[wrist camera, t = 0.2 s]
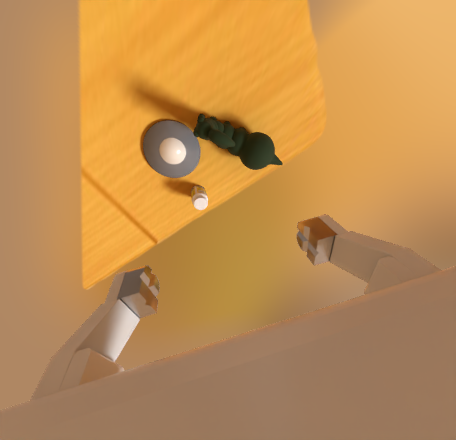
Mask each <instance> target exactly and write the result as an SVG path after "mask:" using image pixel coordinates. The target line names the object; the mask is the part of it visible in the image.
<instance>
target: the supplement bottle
mask: <svg viewBox="0 0 456 440" xmlns="http://www.w3.org/2000/svg"><path fill="white" fill-rule="evenodd" d="M191 198H192V203H193V204H194V206H195V208H196V209H198V210H203V209H205V208H206V207H207V205H208V197H207V194H206V191H205V189H204V187H202V186H200V185H197V186H194V187H193V188H192V189H191Z"/></svg>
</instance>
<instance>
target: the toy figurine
mask: <svg viewBox="0 0 456 440" xmlns="http://www.w3.org/2000/svg"><path fill="white" fill-rule="evenodd" d="M197 121H198V123H197V125H196V127H195V129H194V133H193V134H194V136H195V137H200V138H202V139H206V140H210V141H212V142H213V143H215V144H216V145H217V146H218V147H220V148H222V149H228V151H229V152H230V153H231V154H233V155H235V156H239V157H240V159H241V161H242V163H243V164H244V165H245V166H246V167H248V168H250V169H253V170H258V169H262V168H264V167H266V166H267V165H269V164H274V165H282V162H281V161H280V160H279V158H278V157H277V156H276V155H275V148H274V144H273V141H272V139H271V138H270V137H269V136H268V135H266V134H264V133H260V132H254V133H251V134H249V133H248V132H247V131H246V130H245V129H244V128H242V127H240V128H237V129H235V128H234V127H233V126H231V124H230V123H229V121H226V122H225V123H224V124H222V123H221V122H220V121H217V120H216V118H215V117H214V116H211V117H210V118H205V116H204V115H203V114H200V115H199V117H198V120H197Z"/></svg>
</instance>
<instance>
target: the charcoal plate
mask: <svg viewBox="0 0 456 440" xmlns="http://www.w3.org/2000/svg"><path fill="white" fill-rule="evenodd" d="M143 150H144V154H145V157H146V159H147V161H148V163H149V164H150V166H151V167H152V168H153V169H154V170H155V171H157V172H158V173H160V174H162V175H164V176H167V177H172V178H178V177H183V176H186V175H188V174H189V173H191V172H192V171H193V170H194V169H195V168H196V166H197V164H198V162H199V159H200V146H199V142H198V140H197V138H196V137H195V136H194V134H193V132H192V131H191V130H190V129H189V128H188V127H187V126H185V125H184V124H182V123H180V122H177V121H172V120H165V121H161V122H158V123H156V124H154V125H153V126H152V127H151V128H150V129H149V130H148V131H147V133H146V135H145V138H144V142H143Z"/></svg>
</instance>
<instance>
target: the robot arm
mask: <svg viewBox="0 0 456 440" xmlns="http://www.w3.org/2000/svg"><path fill="white" fill-rule="evenodd" d="M297 228H298V229H299V232H298V233H297V242H298V244H299V246H300V248H301V249H302V250H303V251H305V252H307V257H308V258H309V260H310V261H311V262H312V263H313V265H317V264H321V263H325V262H328V261H330V263H332V264H334V265H336V266H338V267H340V268H341V269H343V270H345V271H347V272H349V273H351V274H353V275H354V276H356V277H358V278H360V279H362V280H364V281H366V282H367V283H368V284H367V286H366V288H365V291H364V294H365V295H362V296H359V297H356V298H353V299H350V300H347V301H343V302H341V303H337V304H334V305H331V306H328V307H325V308H322V309H318V310H315V311H312V312H309V313H306V314H302V315H299V316H296V317H293V318H290V319H287V320H284V321H280V322H277V323H274V324H271V325H267V326H265V327H261V328H258V329H255V330H252V331H249V332H245V333H242V334H239V335H236V336H233V337H230V338H226V339H223V340H220V341H217V342H214V343H211V344H207V345H204V346H201V347H199V348H195V349H192V350H189V351H186V352H182V353H179V354H176V355H173V356H170V357H167V358H163V359H160V360H157V361H154V362H151V363H148V364H144V365H141V366H138V367H135V368H132V369H129V370H126V371H124V368H123V367H122V366H120V365H118V364H117V363H115V360H116V359H117V357H118V355H119V354H120V352H121V350H122V349H123V347H124V345H125V344H126V342H127V340H128V338H129V337H130V335H131V334H132V332H133V330H134V328H135V327H136V325H137V323H138V322H139V320H140V319H139V318H142V317H145V316H148V315H151V314H154V313H157V305H158V299H157V298H156V296H157V294H158V293H159V281H158V279H157V277H156V275H154V274H152V273H151V270H152V269H151V268H150V267H149V266H142V267H139V268H135V269H131V270H127V271H124V272H120V273H117V274H116V275H115V277H114V279H113V282H112V285H111V287H110V290H109V293H108V295H107V298H106V301H105V303H104V304H101V305H100V306H99V307H98V309H96V311H95V312H94V313H93V314H92V315H91V316H90V317H89V318H88V319H87V320H86V321H85V322H84V323H83V324H82V326H81V327H80V328H79V329H78V330H77V331H76V332H75V333H74V334H73V335H72V336H71V337H70V338H69V340H68V341H67V342H66V343H65V344H64V345H63V346H62V347H61V348H60V349H59V350H58V351H57V352H56V353H55V355H54V356H53V357H52V358H51V359H50V362H49V363H48V365H47V367H46V369H45V371H44V373H43V376H42V377H41V380H40V381H39V384H38V386H37V388H36V390H35V392H34V394H33V396H32V398H31V400H30V401H28V402H25V403H21V404H18V405H15V406H12V407H9V408H6V409H3V410H0V440H456V266H454V267H451V268H448V269H444V270H440V269H439V268H437V267H436V266H435V265H433V264H432V263H430V262H429V261H427V260H426V259H424V258H423V257H421V256H420V255H418V254H417V253H415V252H414V251H413V250H411V249H409V248H406V247H402V246H399V245H395V244H392V243H389V242H385V241H382V240H379V239H375V238H372V237H369V236H366V235H362V234H359V233H356V232H352V231H350V232H348V231H346V230H345V229H344V228H343V227H342V226H340V225H339V224H338V223H337V222H336V221H334V220H333V219H332V218H331V217H330V216H328V215H326V214H324V215H321V216H318V217H314V218H311V219H307V220H304V221H301V222H298V225H297Z"/></svg>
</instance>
